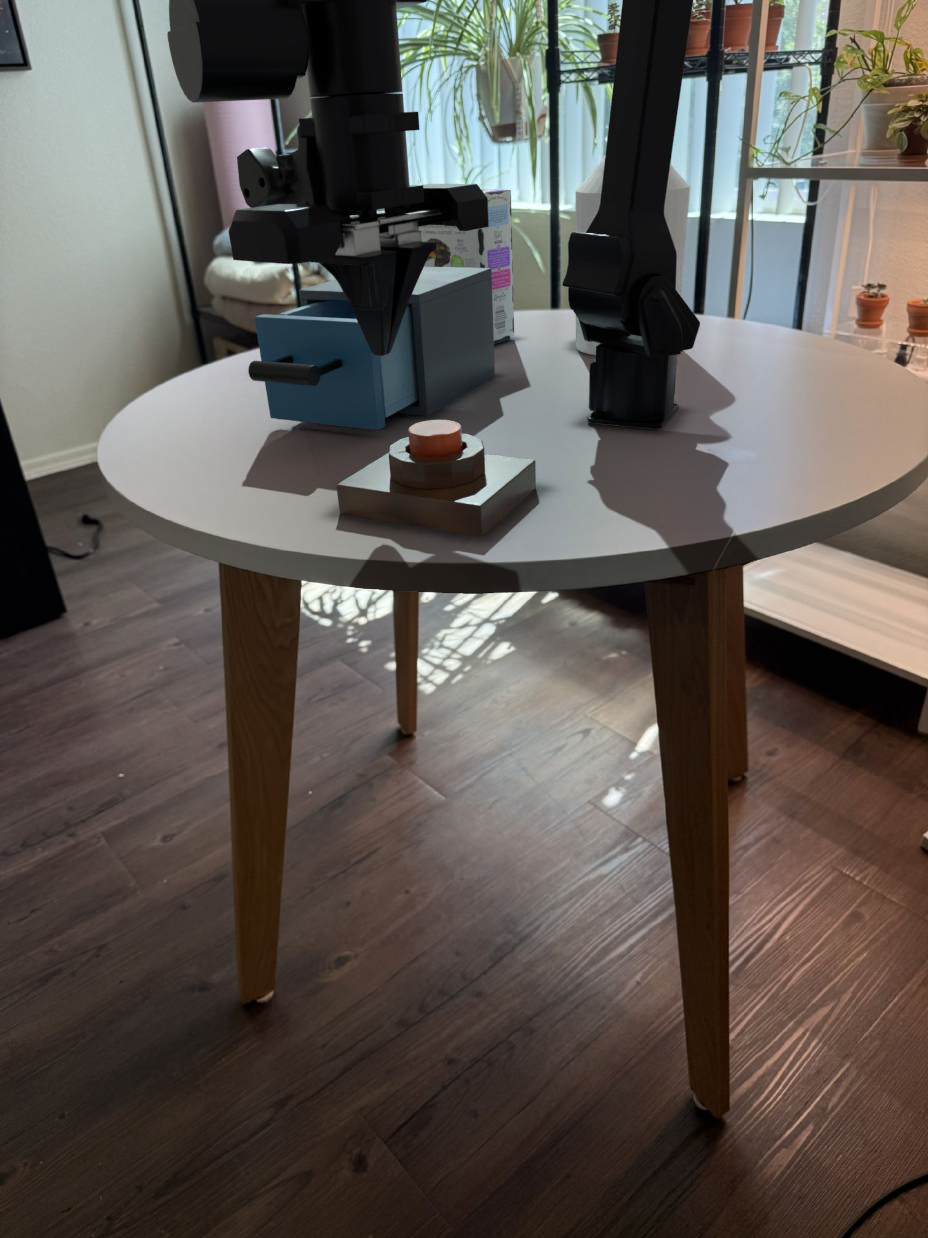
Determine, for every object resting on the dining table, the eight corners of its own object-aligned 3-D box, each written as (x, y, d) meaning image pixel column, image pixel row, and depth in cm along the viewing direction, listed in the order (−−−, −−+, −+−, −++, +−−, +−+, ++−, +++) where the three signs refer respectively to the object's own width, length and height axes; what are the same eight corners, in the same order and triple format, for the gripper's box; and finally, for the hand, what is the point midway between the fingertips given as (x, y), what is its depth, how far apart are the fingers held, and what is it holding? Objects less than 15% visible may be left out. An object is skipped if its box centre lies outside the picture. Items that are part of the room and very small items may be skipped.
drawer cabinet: (427, 416, 80) (418, 294, 75) (314, 404, 85) (298, 289, 80) (495, 376, 91) (491, 267, 86) (391, 368, 96) (381, 265, 91)
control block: (536, 488, 63) (535, 434, 61) (482, 537, 56) (479, 478, 54) (404, 471, 68) (399, 420, 66) (339, 514, 61) (332, 459, 59)
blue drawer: (345, 448, 70) (332, 336, 66) (234, 435, 75) (214, 328, 70) (451, 388, 84) (446, 292, 80) (352, 380, 89) (342, 288, 85)
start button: (471, 446, 61) (470, 422, 60) (447, 463, 58) (445, 438, 57) (426, 441, 62) (424, 417, 61) (400, 457, 59) (398, 432, 59)
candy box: (516, 338, 106) (514, 187, 98) (485, 348, 102) (479, 192, 94) (434, 327, 114) (425, 187, 106) (402, 336, 110) (390, 191, 102)
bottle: (569, 336, 106) (572, 95, 93) (669, 332, 105) (685, 88, 93) (577, 359, 95) (581, 92, 83) (687, 355, 95) (708, 85, 82)
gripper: (369, 99, 64) (389, 319, 72) (150, 107, 52) (202, 370, 60) (489, 90, 58) (496, 332, 66) (271, 96, 46) (312, 392, 54)
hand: (381, 354), depth 62 cm, fingers closed
